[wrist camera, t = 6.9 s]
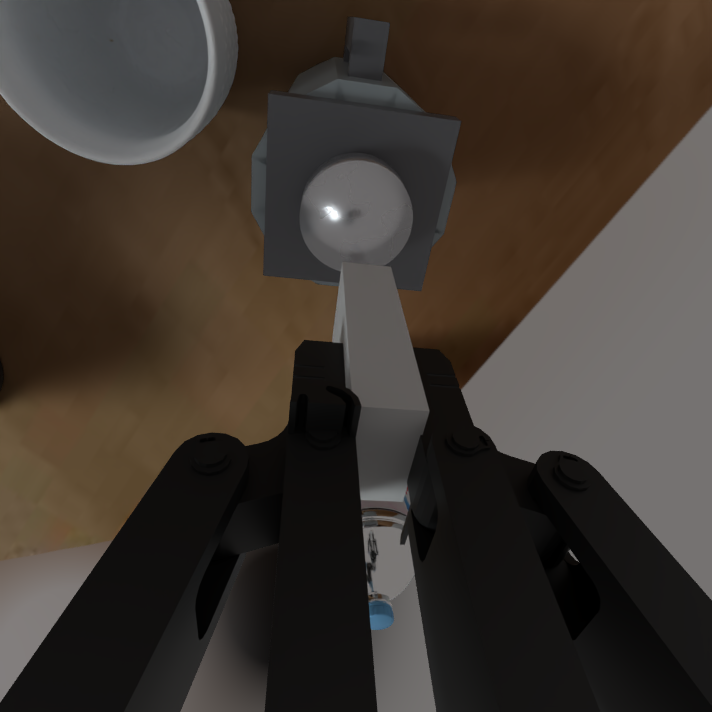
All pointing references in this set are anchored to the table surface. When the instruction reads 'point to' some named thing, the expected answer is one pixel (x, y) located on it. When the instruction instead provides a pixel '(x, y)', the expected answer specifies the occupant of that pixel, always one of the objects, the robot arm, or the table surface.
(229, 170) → the table surface
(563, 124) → the table surface
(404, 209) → the plunger
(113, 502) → the table surface
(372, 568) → the water bottle
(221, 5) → the mug
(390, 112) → the carafe
